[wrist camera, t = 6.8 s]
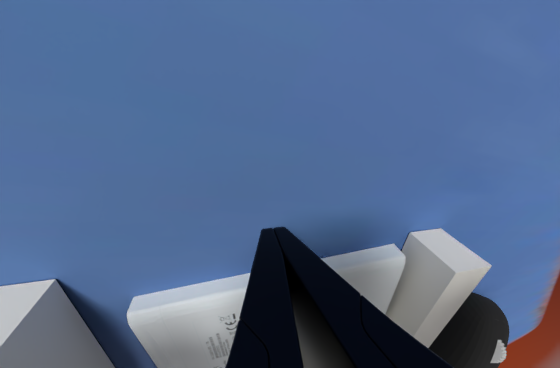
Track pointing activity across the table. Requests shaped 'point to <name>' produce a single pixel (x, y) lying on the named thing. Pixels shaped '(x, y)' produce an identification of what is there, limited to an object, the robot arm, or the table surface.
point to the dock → (95, 364)
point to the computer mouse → (474, 335)
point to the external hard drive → (239, 309)
